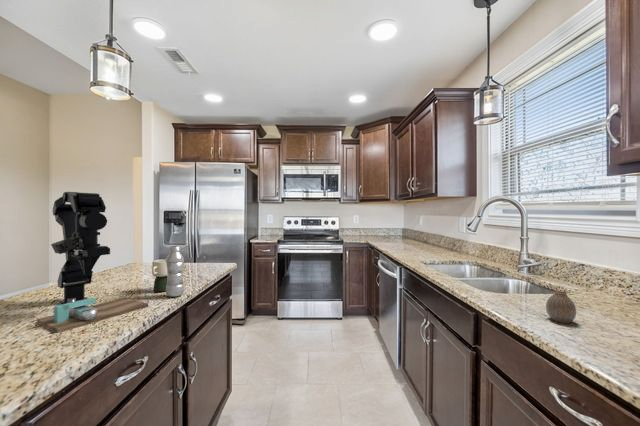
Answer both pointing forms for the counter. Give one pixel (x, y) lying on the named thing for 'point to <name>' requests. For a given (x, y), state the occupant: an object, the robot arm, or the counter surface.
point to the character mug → (160, 274)
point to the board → (103, 313)
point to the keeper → (63, 310)
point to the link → (82, 311)
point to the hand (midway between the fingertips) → (86, 274)
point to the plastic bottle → (174, 272)
